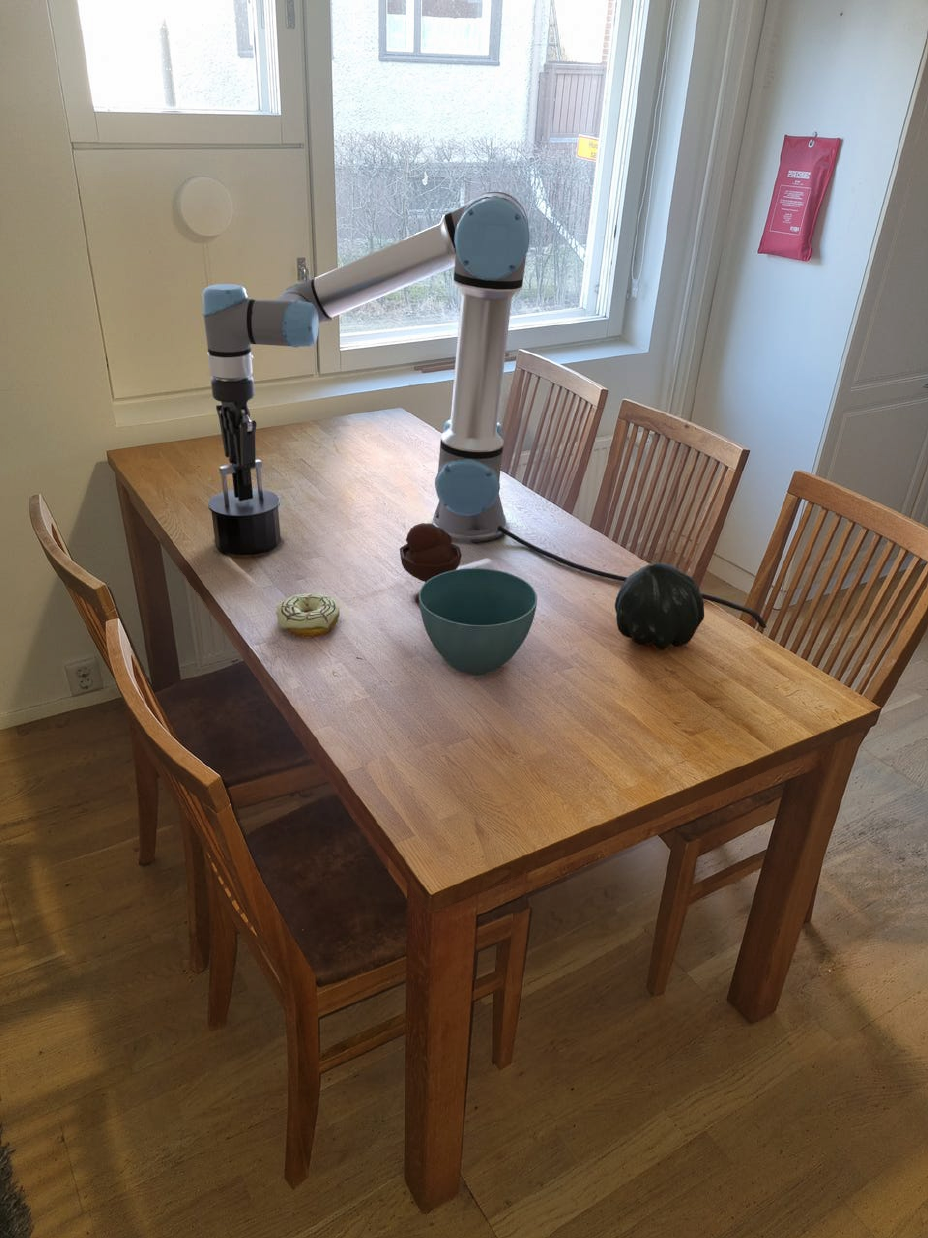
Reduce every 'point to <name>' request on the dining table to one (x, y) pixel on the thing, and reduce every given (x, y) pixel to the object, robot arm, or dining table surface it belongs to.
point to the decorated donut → (308, 614)
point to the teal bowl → (477, 617)
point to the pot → (246, 534)
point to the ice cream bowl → (429, 553)
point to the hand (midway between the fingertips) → (243, 497)
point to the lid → (234, 508)
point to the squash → (659, 606)
